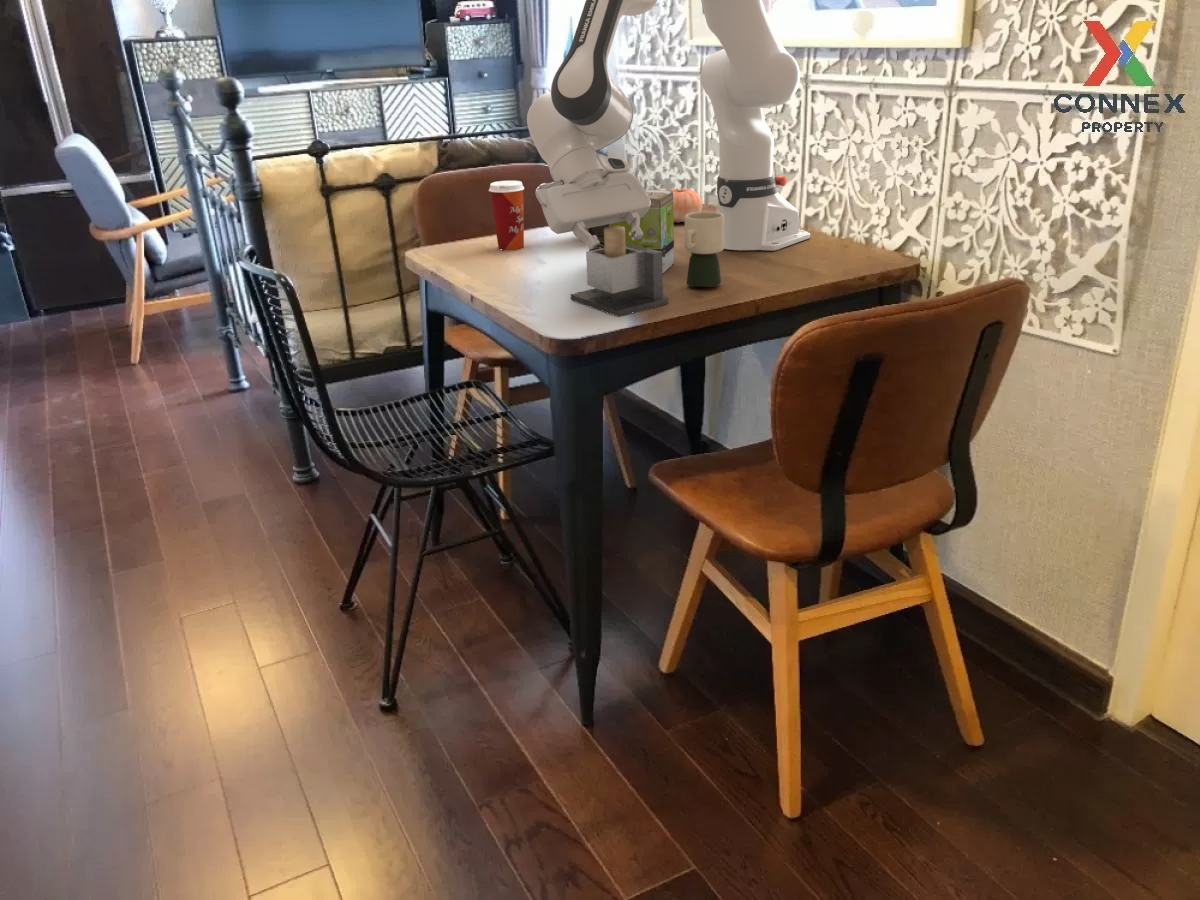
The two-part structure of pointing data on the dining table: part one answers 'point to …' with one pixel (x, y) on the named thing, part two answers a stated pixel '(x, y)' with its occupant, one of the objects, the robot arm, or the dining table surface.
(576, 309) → the dining table surface
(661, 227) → the tea box
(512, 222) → the paper cup
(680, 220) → the orange pumpkin
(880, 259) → the dining table surface
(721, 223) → the character mug
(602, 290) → the grey box holder
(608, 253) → the tan wooden cylinder
